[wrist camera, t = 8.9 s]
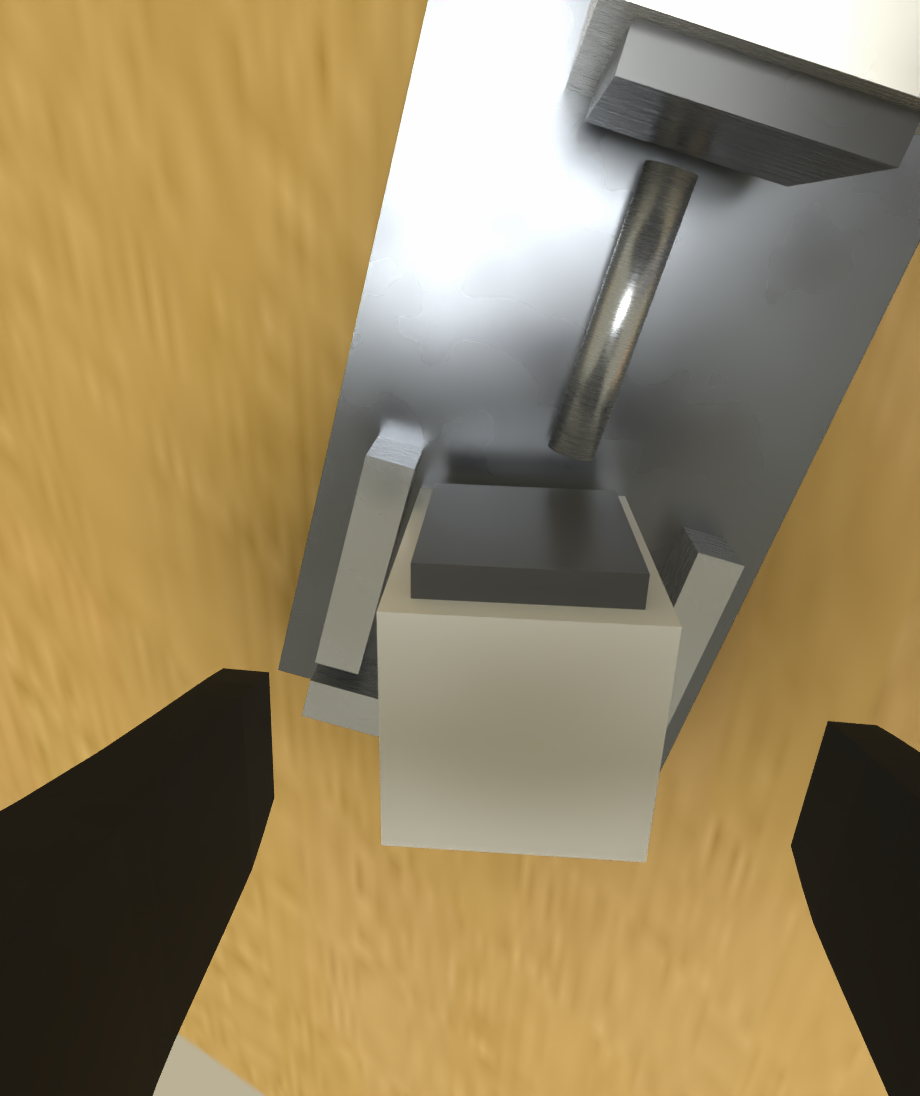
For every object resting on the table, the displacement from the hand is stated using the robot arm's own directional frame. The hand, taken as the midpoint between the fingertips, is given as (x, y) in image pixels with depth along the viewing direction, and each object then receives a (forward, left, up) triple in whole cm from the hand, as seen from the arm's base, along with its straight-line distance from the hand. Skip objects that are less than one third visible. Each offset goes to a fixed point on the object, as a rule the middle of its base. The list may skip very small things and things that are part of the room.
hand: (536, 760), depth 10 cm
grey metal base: (0, -5, -9) cm, 11 cm away
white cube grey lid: (0, +1, -8) cm, 8 cm away
